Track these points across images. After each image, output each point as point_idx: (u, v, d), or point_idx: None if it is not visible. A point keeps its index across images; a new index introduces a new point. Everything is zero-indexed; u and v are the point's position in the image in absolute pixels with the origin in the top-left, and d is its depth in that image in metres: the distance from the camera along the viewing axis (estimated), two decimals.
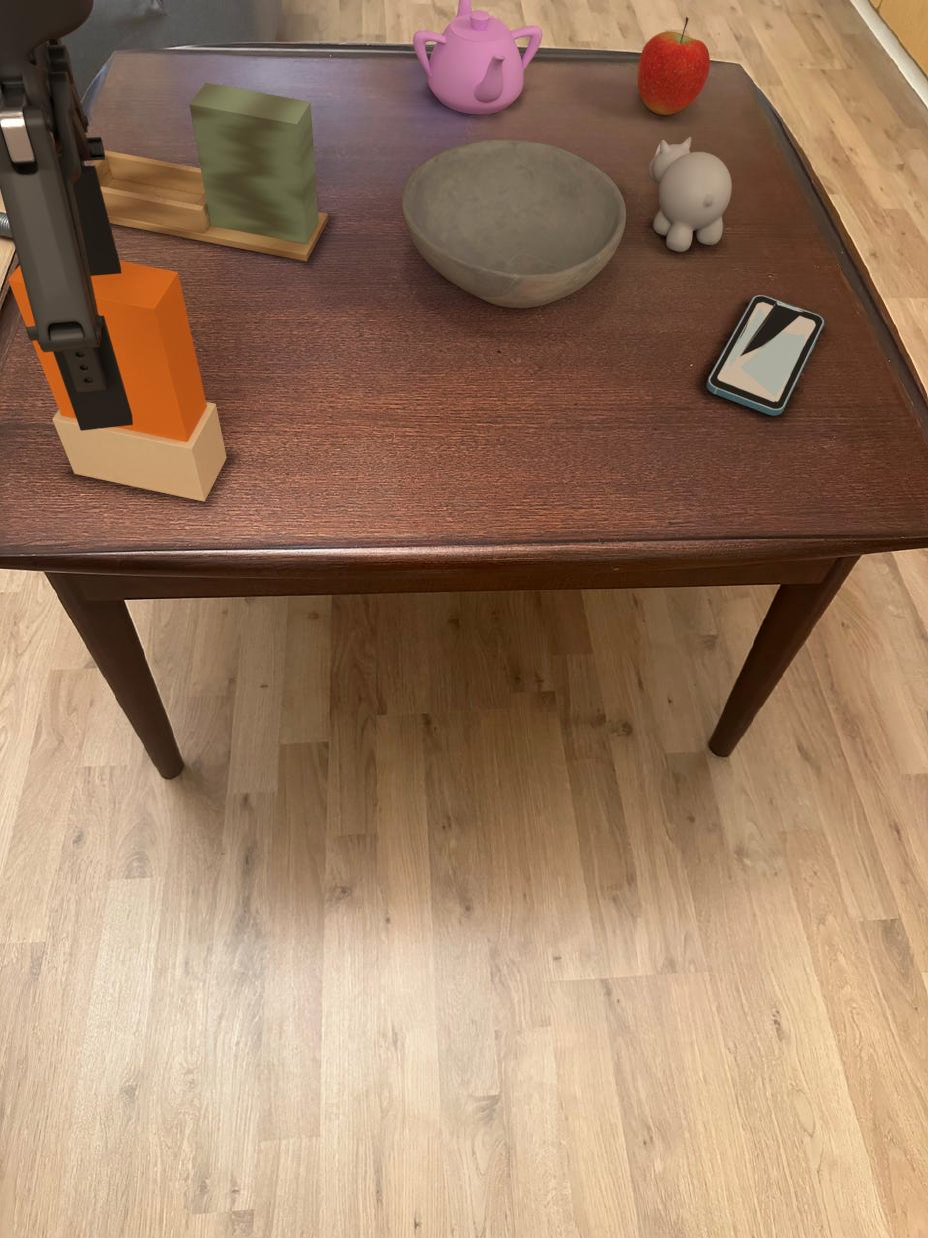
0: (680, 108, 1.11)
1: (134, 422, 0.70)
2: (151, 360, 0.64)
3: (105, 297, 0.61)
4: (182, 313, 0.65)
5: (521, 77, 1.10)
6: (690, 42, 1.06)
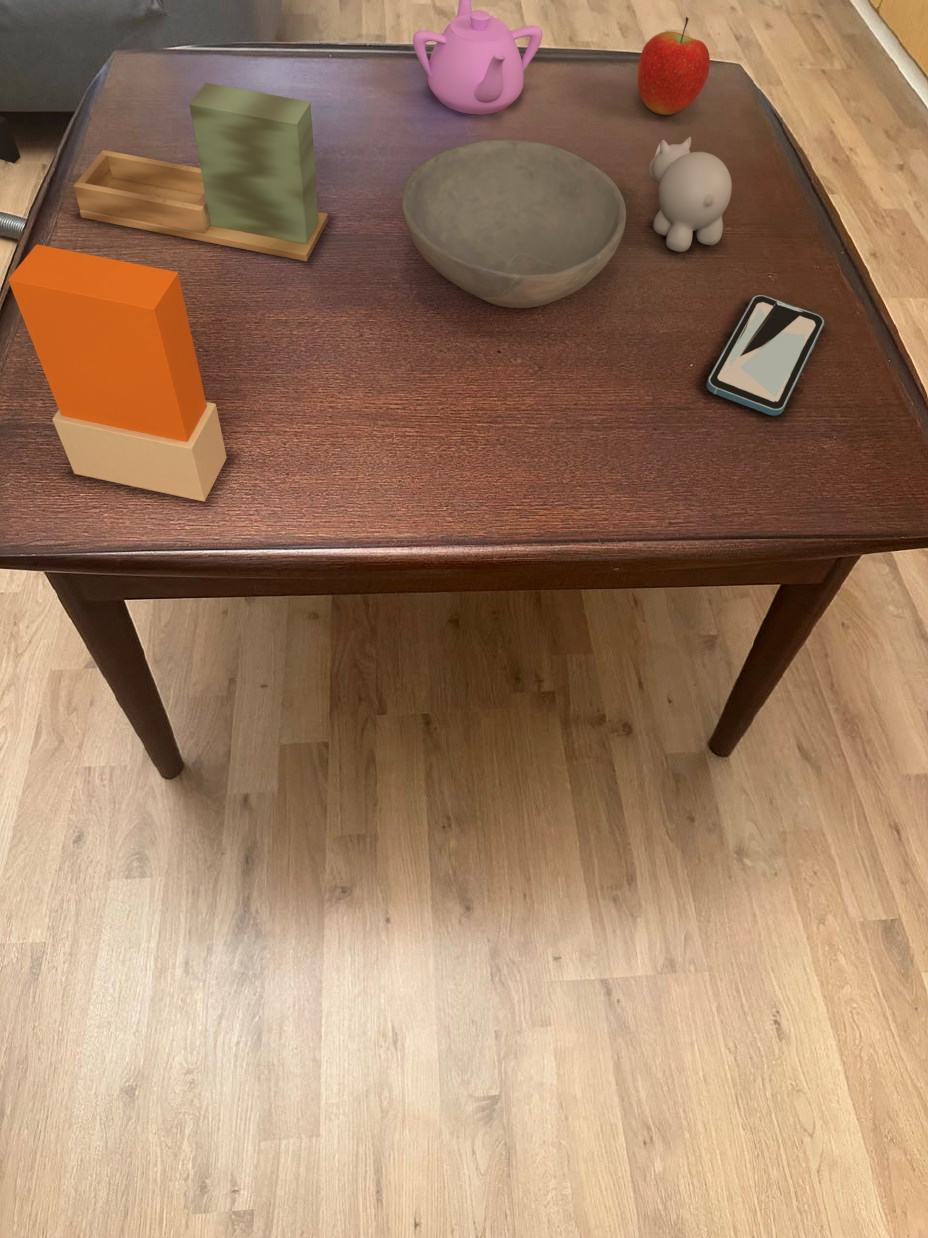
0: (680, 108, 1.11)
1: (134, 422, 0.70)
2: (151, 360, 0.64)
3: (105, 297, 0.61)
4: (182, 313, 0.65)
5: (521, 77, 1.10)
6: (690, 42, 1.06)
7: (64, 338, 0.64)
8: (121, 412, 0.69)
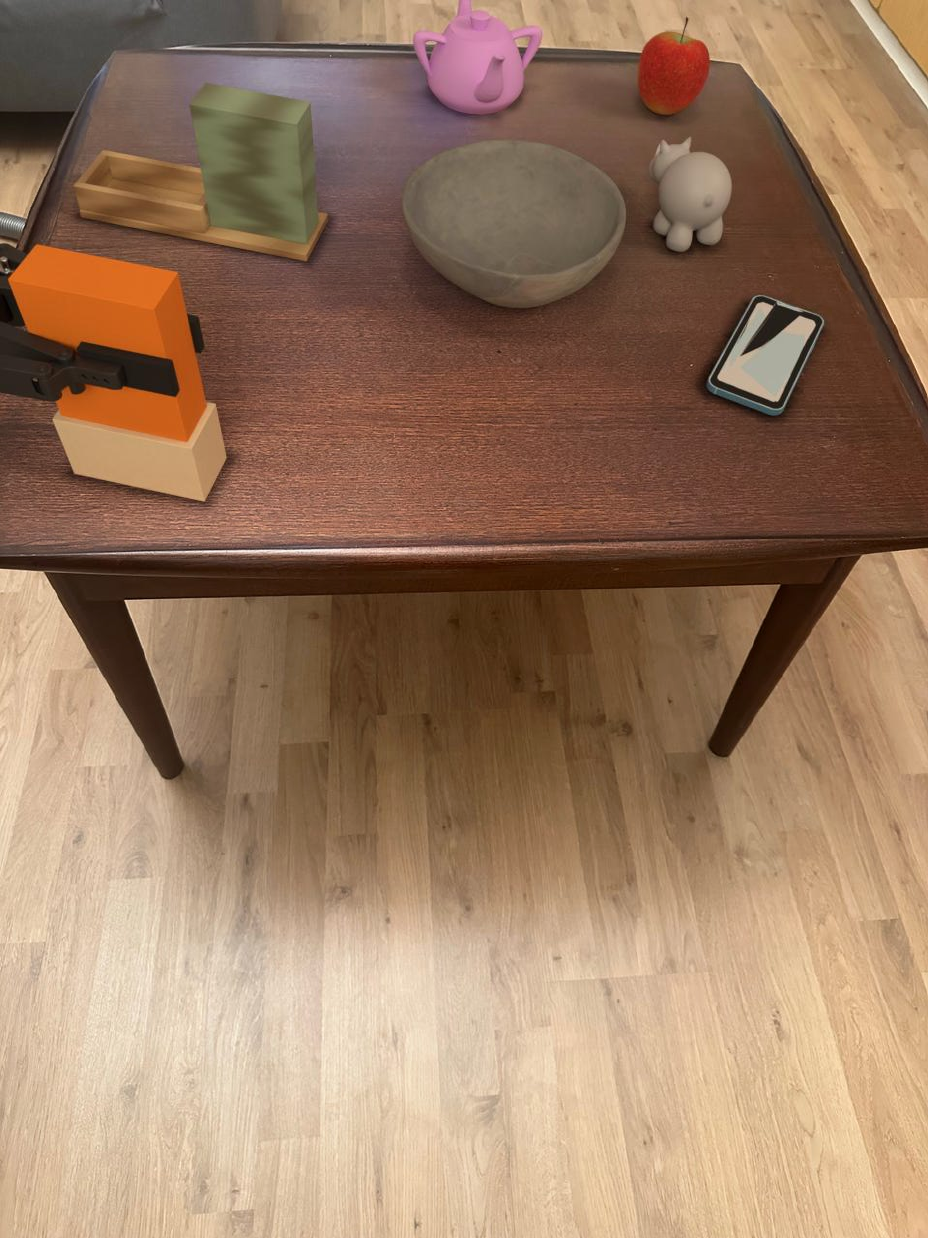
0: (680, 108, 1.11)
1: (134, 422, 0.70)
2: None
3: (105, 297, 0.61)
4: (182, 313, 0.65)
5: (521, 77, 1.10)
6: (690, 42, 1.06)
7: (64, 338, 0.64)
8: (121, 412, 0.69)
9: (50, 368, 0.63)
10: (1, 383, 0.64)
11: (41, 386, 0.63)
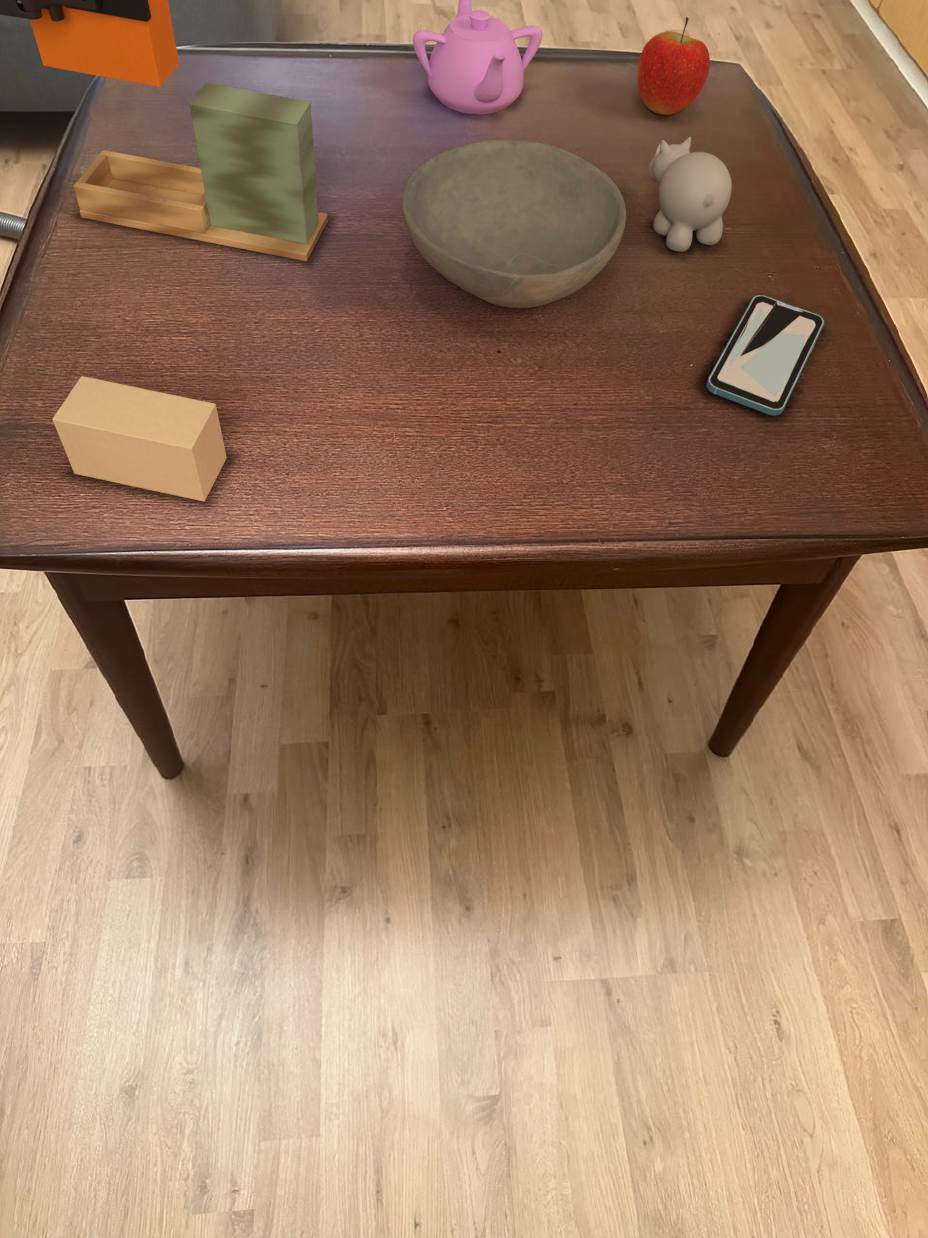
0: (680, 108, 1.11)
1: (110, 66, 0.75)
2: None
3: None
4: None
5: (521, 77, 1.10)
6: (690, 42, 1.06)
7: None
8: (98, 54, 0.74)
9: None
10: None
11: None
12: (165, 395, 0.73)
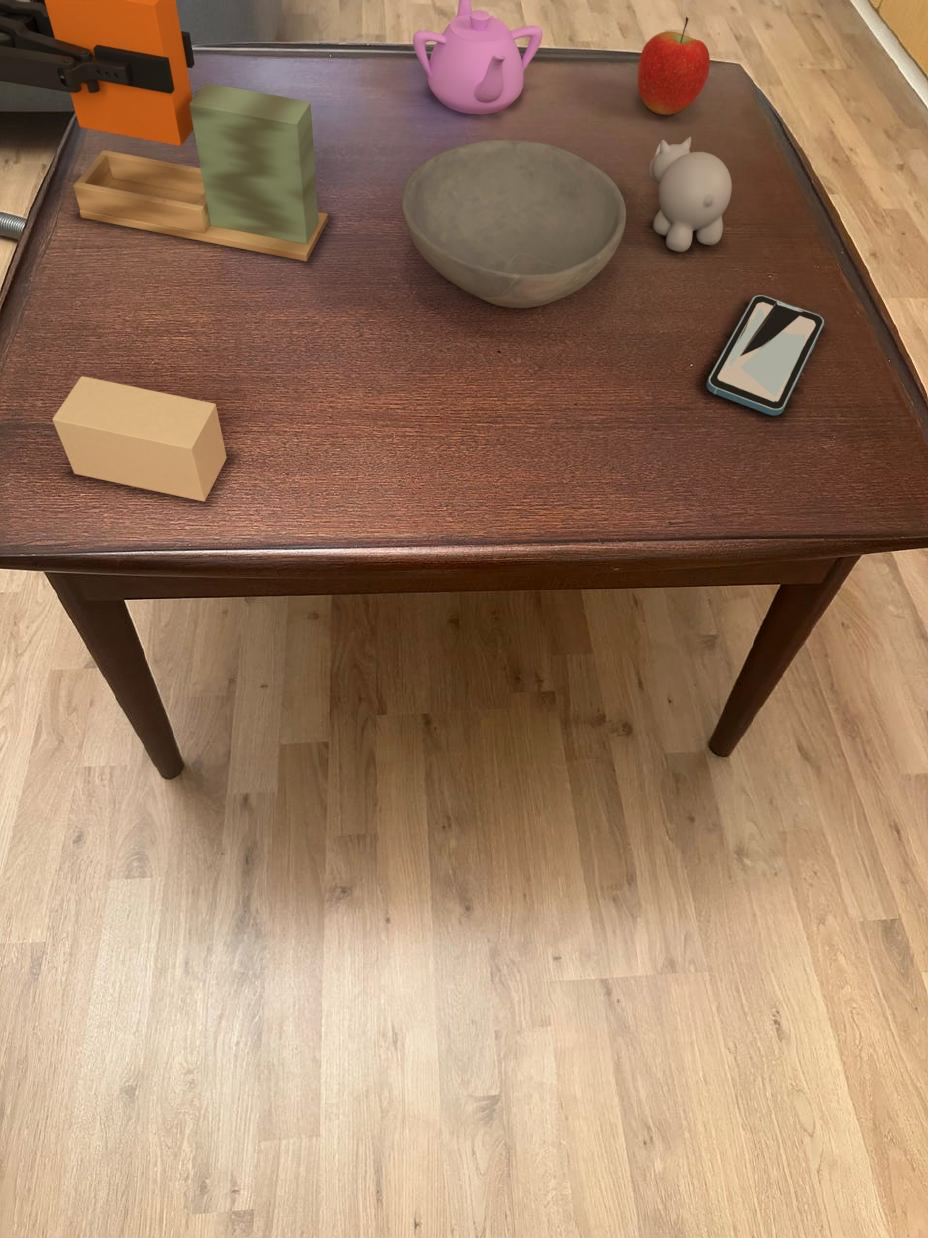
0: (680, 108, 1.11)
1: (138, 128, 0.87)
2: None
3: None
4: (176, 24, 0.82)
5: (521, 77, 1.10)
6: (690, 42, 1.06)
7: (83, 42, 0.81)
8: (128, 118, 0.86)
9: (72, 60, 0.80)
10: (34, 76, 0.81)
11: (65, 76, 0.80)
12: (165, 395, 0.73)
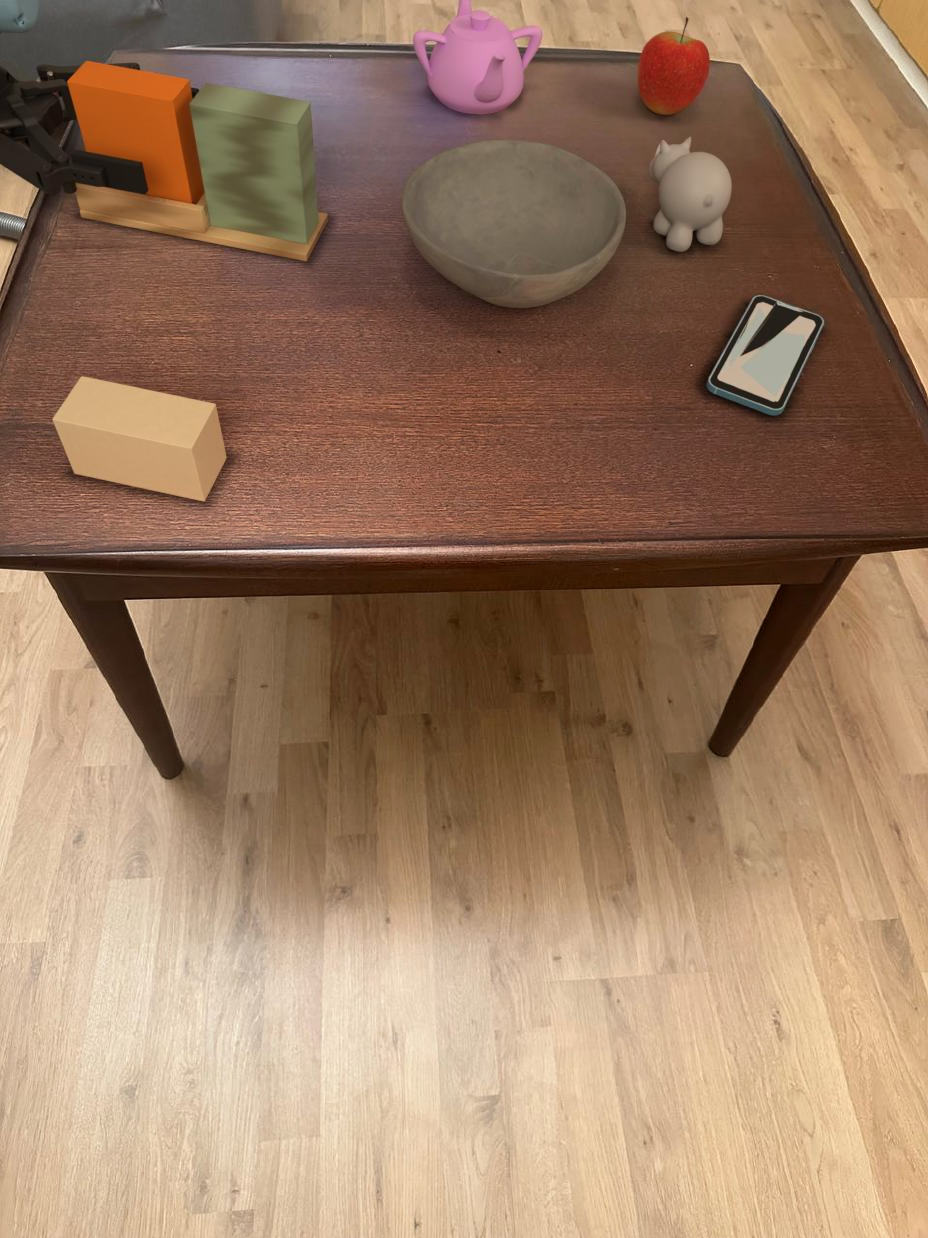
0: (680, 108, 1.11)
1: None
2: (169, 147, 0.88)
3: (137, 93, 0.84)
4: None
5: (521, 77, 1.10)
6: (690, 42, 1.06)
7: (106, 131, 0.88)
8: None
9: (49, 167, 0.83)
10: (22, 170, 0.85)
11: (43, 181, 0.84)
12: (165, 395, 0.73)
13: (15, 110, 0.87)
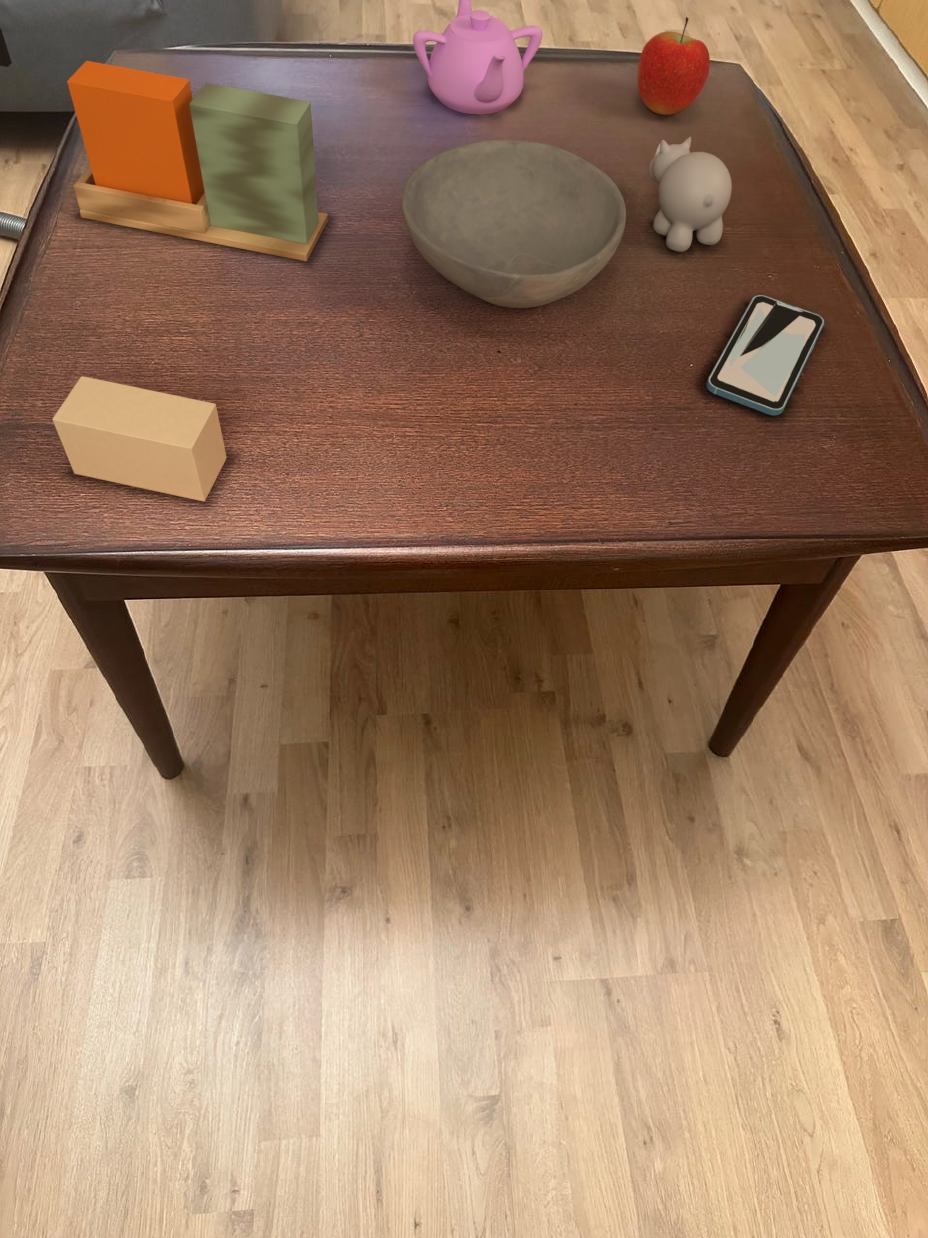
0: (680, 108, 1.11)
1: None
2: (169, 147, 0.88)
3: (137, 93, 0.84)
4: None
5: (521, 77, 1.10)
6: (690, 42, 1.06)
7: (106, 131, 0.88)
8: None
9: None
10: None
11: None
12: (165, 395, 0.73)
13: None
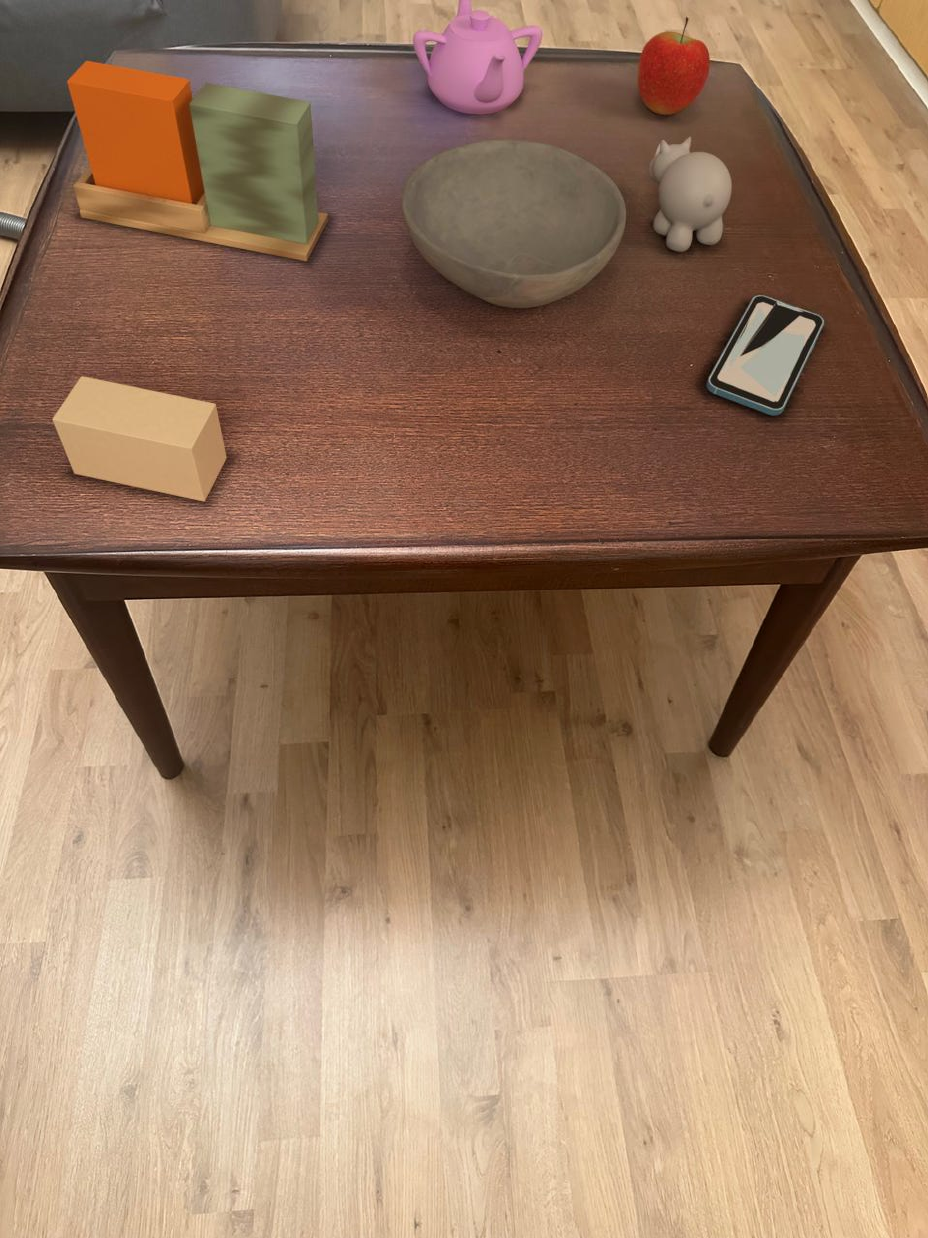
0: (680, 108, 1.11)
1: None
2: (169, 147, 0.88)
3: (137, 93, 0.84)
4: None
5: (521, 77, 1.10)
6: (690, 42, 1.06)
7: (106, 131, 0.88)
8: None
9: None
10: None
11: None
12: (165, 395, 0.73)
13: None
